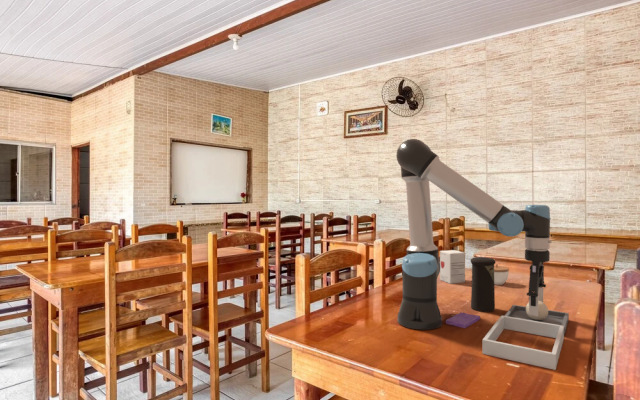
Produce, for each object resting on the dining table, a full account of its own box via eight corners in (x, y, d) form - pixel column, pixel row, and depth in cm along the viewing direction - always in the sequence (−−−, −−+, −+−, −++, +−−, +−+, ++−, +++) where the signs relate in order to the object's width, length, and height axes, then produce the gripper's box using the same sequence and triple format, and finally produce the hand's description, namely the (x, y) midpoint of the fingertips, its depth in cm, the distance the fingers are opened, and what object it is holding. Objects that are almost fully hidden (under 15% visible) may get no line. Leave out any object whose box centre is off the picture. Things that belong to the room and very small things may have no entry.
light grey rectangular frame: (555, 370, 104) (555, 354, 103) (482, 353, 114) (482, 339, 114) (563, 338, 125) (563, 325, 125) (501, 327, 135) (501, 315, 135)
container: (497, 312, 150) (497, 259, 150) (472, 311, 152) (472, 259, 152) (492, 306, 159) (492, 255, 158) (468, 305, 161) (468, 255, 160)
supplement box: (439, 279, 204) (439, 250, 204) (454, 278, 207) (454, 249, 206) (450, 284, 195) (450, 253, 195) (465, 282, 198) (465, 252, 198)
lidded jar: (479, 282, 198) (479, 263, 198) (495, 279, 203) (495, 261, 203) (497, 287, 189) (497, 267, 188) (513, 284, 193) (513, 265, 193)
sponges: (445, 325, 139) (445, 319, 139) (461, 316, 148) (461, 311, 148) (465, 329, 134) (465, 324, 134) (480, 320, 144) (480, 315, 143)
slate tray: (564, 335, 127) (564, 327, 127) (503, 324, 138) (503, 317, 138) (568, 320, 142) (568, 313, 142) (512, 311, 152) (512, 304, 152)
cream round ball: (539, 315, 144) (539, 297, 143) (552, 322, 136) (552, 303, 136) (521, 316, 143) (521, 297, 143) (532, 323, 136) (532, 303, 136)
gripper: (545, 255, 127) (544, 322, 127) (553, 245, 147) (552, 303, 148) (518, 253, 131) (518, 317, 132) (530, 244, 151) (529, 299, 152)
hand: (536, 310), depth 140 cm, fingers open, 13 cm apart
